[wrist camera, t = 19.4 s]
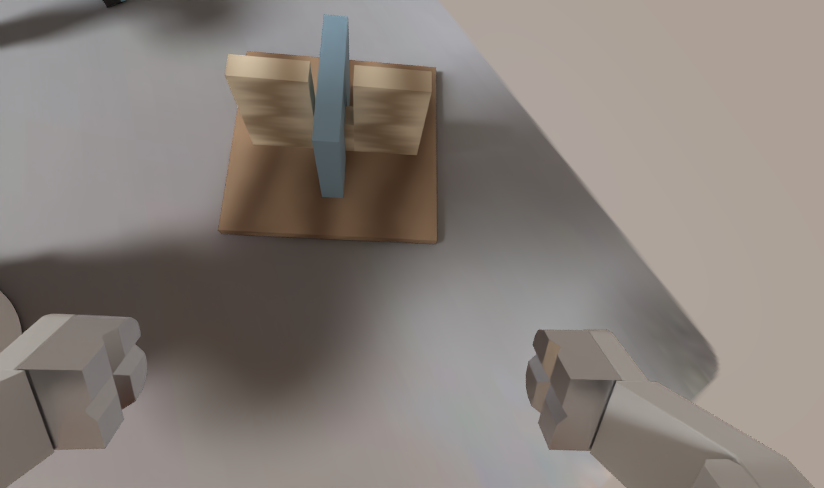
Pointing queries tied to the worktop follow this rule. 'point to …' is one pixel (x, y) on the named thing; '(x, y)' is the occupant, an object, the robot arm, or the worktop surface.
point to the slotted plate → (332, 106)
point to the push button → (112, 2)
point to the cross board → (364, 144)
